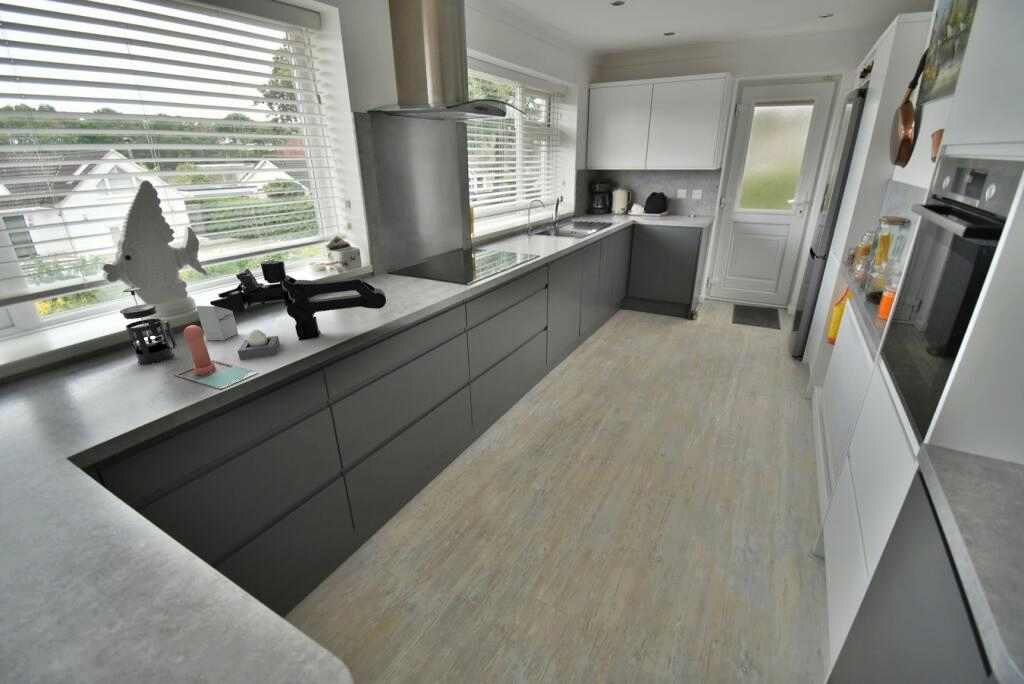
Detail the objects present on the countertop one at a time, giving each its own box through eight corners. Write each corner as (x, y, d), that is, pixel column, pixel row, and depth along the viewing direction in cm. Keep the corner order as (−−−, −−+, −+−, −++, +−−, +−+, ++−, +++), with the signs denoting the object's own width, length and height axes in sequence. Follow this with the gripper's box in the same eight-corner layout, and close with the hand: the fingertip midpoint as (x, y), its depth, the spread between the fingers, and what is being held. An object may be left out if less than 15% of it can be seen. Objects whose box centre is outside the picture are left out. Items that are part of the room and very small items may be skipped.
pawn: (217, 366, 138) (204, 321, 132) (213, 373, 133) (198, 327, 128) (198, 369, 136) (183, 324, 131) (192, 376, 132) (177, 329, 126)
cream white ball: (269, 340, 150) (265, 326, 148) (266, 346, 145) (262, 331, 143) (251, 342, 148) (247, 328, 146) (248, 348, 144) (244, 334, 142)
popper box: (280, 343, 153) (277, 335, 152) (275, 354, 144) (272, 346, 143) (247, 348, 151) (244, 339, 150) (240, 359, 142) (237, 351, 141)
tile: (234, 367, 137) (234, 365, 137) (258, 373, 132) (257, 371, 132) (197, 382, 128) (196, 380, 128) (220, 389, 123) (220, 388, 123)
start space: (213, 360, 142) (213, 360, 142) (235, 366, 137) (235, 365, 137) (174, 375, 133) (174, 374, 133) (197, 382, 128) (196, 381, 128)
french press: (129, 366, 140) (101, 294, 132) (144, 355, 149) (118, 286, 140) (173, 361, 143) (148, 290, 134) (184, 350, 151) (162, 282, 143)
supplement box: (223, 341, 158) (213, 306, 153) (205, 340, 159) (194, 305, 155) (239, 333, 165) (230, 299, 160) (222, 332, 166) (212, 299, 161)
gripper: (267, 263, 156) (215, 268, 152) (256, 275, 139) (197, 281, 135) (274, 295, 160) (224, 300, 156) (264, 310, 143) (208, 317, 139)
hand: (214, 299), depth 146 cm, fingers open, 9 cm apart
